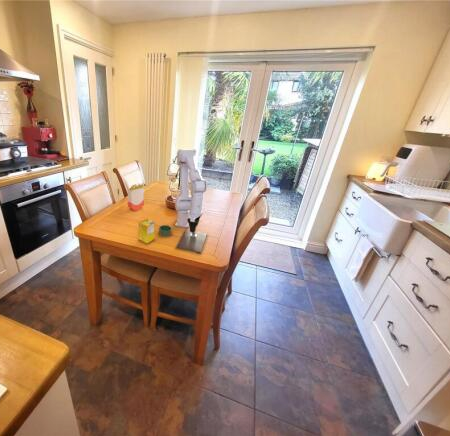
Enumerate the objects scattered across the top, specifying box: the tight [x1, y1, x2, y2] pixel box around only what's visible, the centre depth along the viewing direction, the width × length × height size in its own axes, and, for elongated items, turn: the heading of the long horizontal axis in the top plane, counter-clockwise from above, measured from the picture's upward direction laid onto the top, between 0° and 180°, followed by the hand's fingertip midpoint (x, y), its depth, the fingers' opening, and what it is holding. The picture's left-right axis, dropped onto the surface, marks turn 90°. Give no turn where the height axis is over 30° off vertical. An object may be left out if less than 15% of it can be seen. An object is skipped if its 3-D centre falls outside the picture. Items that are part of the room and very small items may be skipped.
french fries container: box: [127, 183, 145, 211], centre depth 158 cm, size 5×11×18 cm, turn 137°
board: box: [176, 229, 208, 255], centre depth 124 cm, size 20×12×1 cm, turn 162°
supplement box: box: [138, 218, 156, 245], centre depth 121 cm, size 6×6×11 cm
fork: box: [190, 228, 197, 241], centre depth 122 cm, size 2×3×9 cm
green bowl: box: [158, 224, 173, 238], centre depth 129 cm, size 7×7×4 cm
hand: (193, 228), depth 121 cm, fingers open, 7 cm apart
